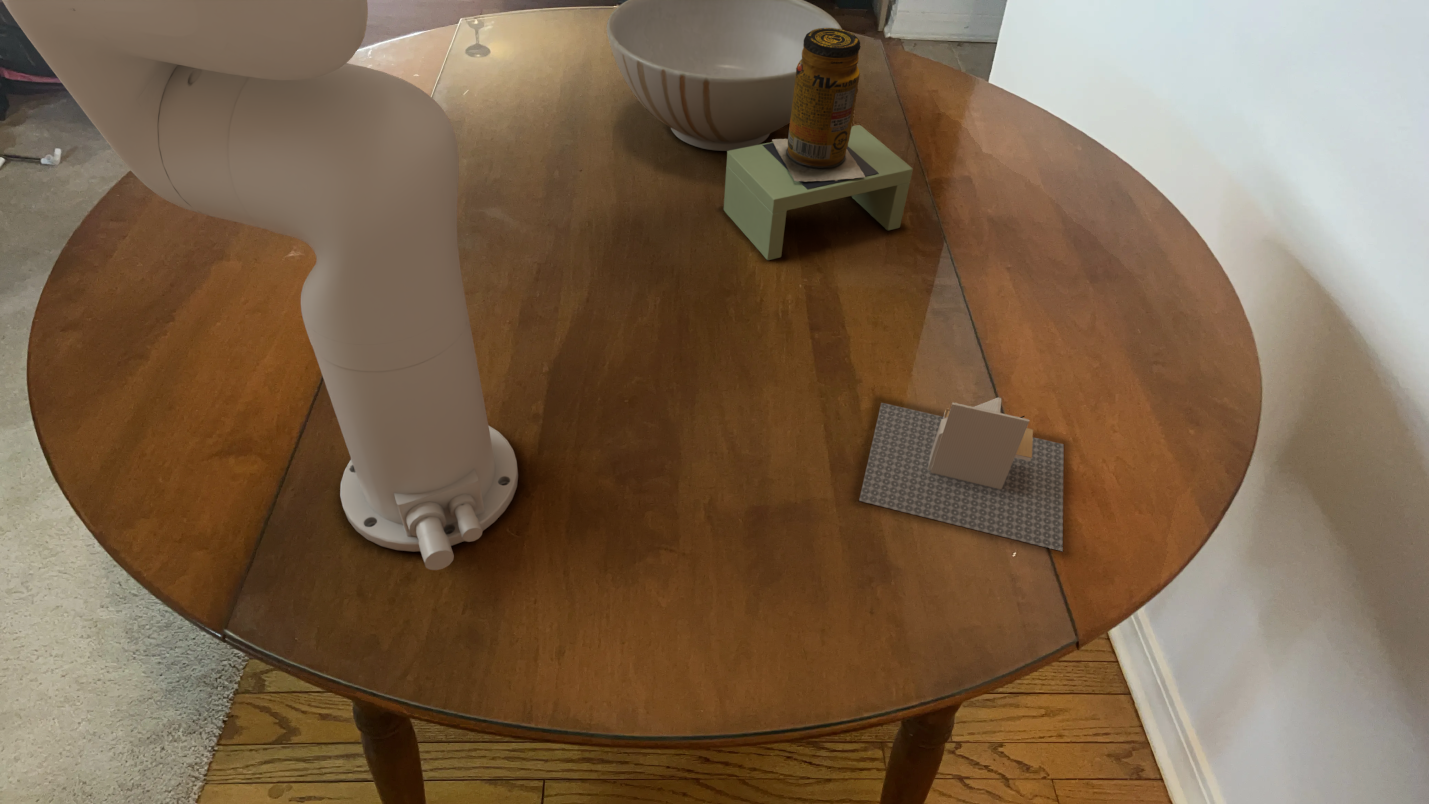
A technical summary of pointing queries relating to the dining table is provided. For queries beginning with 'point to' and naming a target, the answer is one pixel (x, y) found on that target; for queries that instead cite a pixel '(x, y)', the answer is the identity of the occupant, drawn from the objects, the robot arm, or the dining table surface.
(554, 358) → the dining table surface
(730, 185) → the shelf
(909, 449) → the architectural model
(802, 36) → the decorative bowl
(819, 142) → the condiment
